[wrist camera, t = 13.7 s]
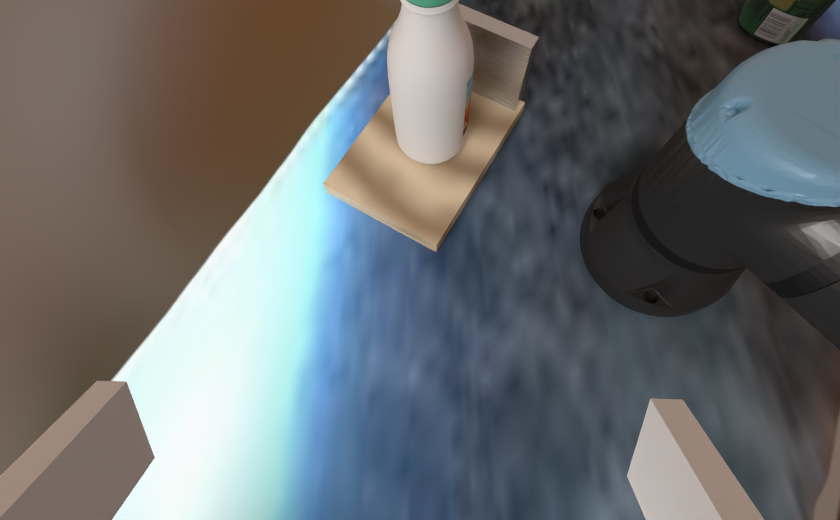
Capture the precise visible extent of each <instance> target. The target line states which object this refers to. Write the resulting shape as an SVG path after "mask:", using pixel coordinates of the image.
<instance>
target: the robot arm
mask: <svg viewBox="0 0 840 520" xmlns="http://www.w3.org/2000/svg"><path fill="white" fill-rule="evenodd" d="M580 244H581V251H582V255H583V258H584V261H585V264H586V266H587V268H588V270H589V272H590V274H591V275H592V277H593V278H594V280H595V281H596V282H597V284H598V285H599V286H600V287H601V288H602V289H603V290H604V291H605V292H606V293H607V294H608V295H609V296H611V297H612V298H613V299H615V300H616V301H617V302H619V303H621V304H622V305H624V306H626V307H628V308H630V309H632V310H635V311H637V312H640V313H644V314H647V315H652V316H661V317H673V316H681V315H685V314H689V313H692V312H694V311H697V310H699V309H702V308H704V307H707V306H709V305H711V304H713V303H714V302H716V301H717V300H719V299H720V298H721V297H723V296H724V295H725V294H726V293H727V292H728V291H729V290H730V289H731V287H732V286H733V285H734V283H735V282H736V281H737V279H738V278H739V277H740V275H741V274H742V273H743V271H744V270H745V268H747V269H748V270H749V271H750V272H752V273H753V274H754V275H755V276H756V277H757V278H759V279H760V280H761V281H762V282H763V283H765V284H766V285H767V286H768V287H769V288H771V289H772V290H773V291H774V292H775V293H776V294H777V295H778V296H779V297H781V298H782V299H783V300H784V301H785V302H786V303H787V304H788V305H790V306H791V307H792V308H793V309H794V310H795V311H796V312H798V313H799V314H800V315H801V316H802V317H803V318H804V319H805V320H807V321H808V322H809V323H810V324H811V325H812V326H813V327H815V328H816V329H817V330H818V331H819V332H820V333H821V334H822V335H824V336H825V337H826V338H827V339H828V340H829V341H830V342H831V343H833V344H834V345H835V346H836V347H837V348H838V349H839V350H840V40H838V39H823V40H819V41H807V40H800V41H793V42H789V43H784V44H780V45H777V46H774V47H771V48H768V49H766V50H763V51H761V52H759V53H757V54H755V55H753V56H751V57H750V58H748V59H747V60H745V61H743V62H742V63H741V64H740V65H738V66H737V67H736V68H735V69H733V70H732V71H731V72H730V73H729V74H728V75H727V76H726V77H725V78H724V79H723V80H722V82H721V83H720V84H719V85H718V86H717V87H716V88H715V89H713V90H711V91H710V92H708V93H707V94H706V95H705V96H703V97H702V98H701V99H700V100H699V101H698V102H697V104H696V105H695V106H694V107H693V109H692V111H691V114H690V115H689V117H688V119H687V120H686V121H685V122H684V124H683V125H682V126H681V127H680V128H679V129H678V131H677V132H676V133H675V134H674V135H673V136H672V138H671V139H670V140H669V141H668V142H667V143H666V145H665V146H664V147H663V148H662V149H661V150H660V151H659V152H658V153H657V155H656V156H655V157H654V158H653V159H652V160H651V161H650V162H649V164H648V165H647V166H646V167H644V168H642V169H640V170H637V171H635V172H633V173H631V174H628V175H626V176H624V177H621V178H619V179H617V180H616V181H614V182H613V183H611V184H610V185H608V186H607V187H606V188H605V189H604V190H603V191H602V192H601V193H600V194H599V195H598V196H597V198H596V199H595V200H594V201H593V203H592V204H591V205H590V207H589V208H588V210H587V212H586V214H585V216H584V219H583V222H582V226H581V232H580ZM153 459H154V455H153V452H152V449H151V447H150V444H149V441H148V439H147V436H146V433H145V431H144V428H143V425H142V423H141V420H140V417H139V414H138V412H137V409H136V406H135V404H134V401H133V398H132V396H131V393H130V390H129V388H128V385H127V382H117V381H97V382H96V383H94V384H93V385H92V386H91V388H89V389H88V391H86V392H85V393H84V395H82V396H81V397H80V398H79V399H78V400H77V401H76V402H75V403H74V404H73V405H72V406H71V407H70V408H69V409H68V410H67V411H66V412H65V413H64V414H63V415H62V416H61V417H60V418H59V419H58V420H57V421H56V422H55V423H54V424H53V425H52V426H51V427H50V428H49V429H48V430H47V431H46V432H45V433H44V434H43V435H42V436H40V437H39V438H38V440H36V442H34V443H33V444H32V445H31V446H30V447H29V449H27V450H26V451H25V452H24V453H23V454H22V455H21V456H20V457H19V458H18V459H17V460H16V461H15V462H14V463H13V464H12V465H11V466H10V467H9V468H8V469H7V470H6V471H5V472H4V473H3V474H2V475H1V476H0V520H112V519H113V517H114V516H115V514H116V513H117V511H118V510H119V508H120V507H121V506H122V504H123V503H124V501H125V500H126V498H127V497H128V495H129V494H130V493H131V491H132V490H133V488H134V487H135V485H136V484H137V482H138V481H139V480H140V478H141V477H142V475H143V474H144V472H145V471H146V469H147V468H148V466H149V465H150V464H151V462H152V461H153ZM627 477H628V479H629V482H630V484H631V486H632V489H633V491H634V493H635V496H636V498H637V500H638V502H639V505H640V507H641V509H642V512H643V514H644V516H645V519H646V520H764V519H763V517H762V516H761V514H760V513H759V511H758V510H757V508H756V507H755V506H754V504H753V503H752V501H751V500H750V498H749V497H748V495H747V494H746V492H745V491H744V489H743V488H742V486H741V485H740V483H739V482H738V480H737V479H736V478H735V476H734V475H733V473H732V472H731V470H730V469H729V467H728V466H727V464H726V463H725V461H724V460H723V458H722V457H721V455H720V454H719V452H718V451H717V450H716V448H715V447H714V445H713V444H712V442H711V441H710V439H709V438H708V436H707V435H706V433H705V432H704V430H703V429H702V427H701V426H700V425H699V423H698V422H697V420H696V419H695V417H694V416H693V414H692V413H691V411H690V410H689V408H688V407H687V405H686V404H685V402H684V401H683V400H678V399H650V402H649V405H648V409H647V412H646V415H645V419H644V422H643V425H642V428H641V432H640V435H639V438H638V442H637V445H636V448H635V451H634V455H633V458H632V461H631V465H630V468H629V471H628V474H627Z"/></svg>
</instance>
